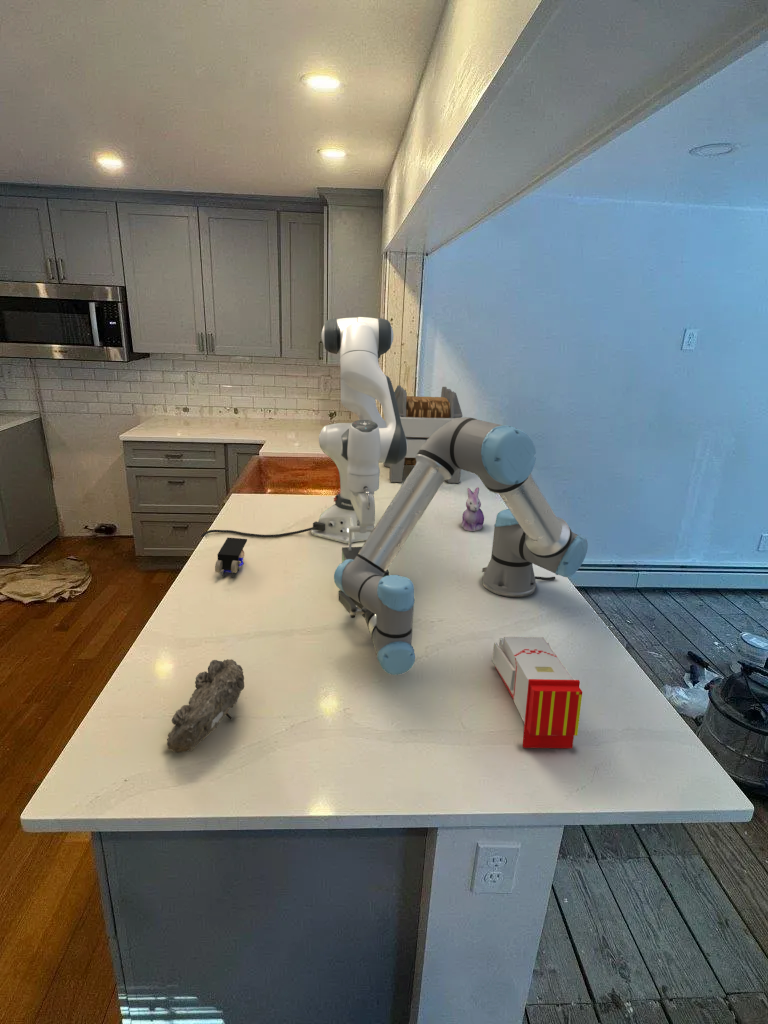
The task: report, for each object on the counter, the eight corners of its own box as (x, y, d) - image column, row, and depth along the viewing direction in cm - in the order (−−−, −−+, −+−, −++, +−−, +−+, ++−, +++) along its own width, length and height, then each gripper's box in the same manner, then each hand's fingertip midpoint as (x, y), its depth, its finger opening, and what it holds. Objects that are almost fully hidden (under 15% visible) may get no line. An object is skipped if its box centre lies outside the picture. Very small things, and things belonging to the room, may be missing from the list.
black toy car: (238, 584, 162) (249, 557, 175) (236, 562, 158) (247, 536, 172) (215, 584, 161) (227, 556, 175) (212, 561, 158) (225, 535, 171)
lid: (341, 550, 161) (342, 523, 158) (376, 549, 163) (377, 522, 160) (350, 577, 145) (351, 548, 142) (389, 575, 147) (390, 547, 144)
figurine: (470, 533, 202) (474, 493, 197) (453, 524, 211) (457, 485, 206) (491, 530, 207) (495, 491, 202) (474, 520, 215) (478, 483, 210)
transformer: (382, 463, 289) (386, 382, 275) (445, 464, 293) (451, 384, 279) (390, 482, 257) (394, 392, 243) (460, 483, 261) (468, 394, 247)
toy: (540, 620, 128) (592, 687, 99) (535, 674, 131) (584, 755, 102) (487, 619, 128) (523, 686, 99) (483, 673, 131) (517, 754, 101)
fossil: (192, 660, 117) (244, 628, 112) (224, 691, 120) (276, 661, 115) (142, 746, 98) (202, 712, 93) (182, 779, 101) (242, 748, 96)
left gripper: (381, 493, 144) (379, 543, 149) (368, 471, 163) (366, 516, 168) (357, 494, 143) (355, 544, 147) (346, 471, 162) (345, 517, 166)
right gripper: (334, 641, 129) (324, 594, 149) (430, 634, 133) (408, 590, 154) (335, 612, 126) (324, 569, 146) (432, 606, 131) (409, 565, 151)
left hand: (361, 529), depth 158 cm, fingers open, 3 cm apart
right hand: (367, 579), depth 150 cm, fingers closed on chest, 10 cm apart
